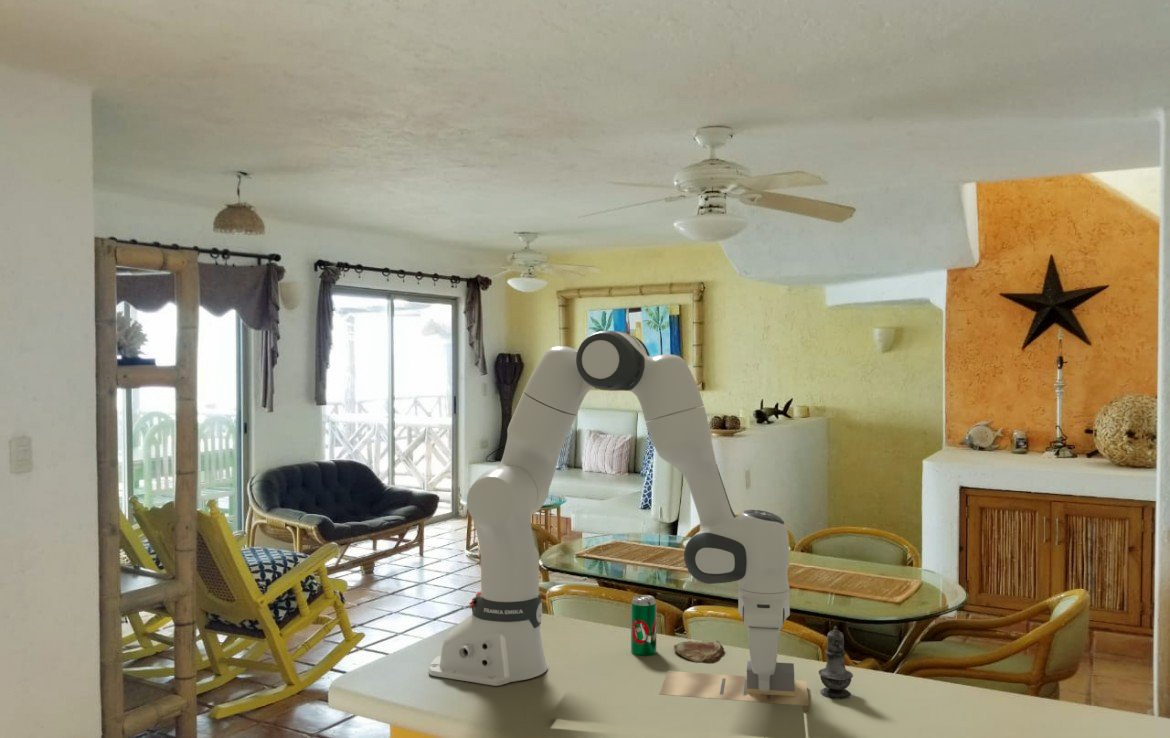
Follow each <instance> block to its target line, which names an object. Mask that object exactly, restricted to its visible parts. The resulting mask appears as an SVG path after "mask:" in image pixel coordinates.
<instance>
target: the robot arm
mask: <svg viewBox="0 0 1170 738" xmlns="http://www.w3.org/2000/svg"><path fill="white" fill-rule="evenodd" d="M592 389H597V390H602V391H609V392H618V391H619V392H620V391H629V392H632V393H633V394H634V395H635V396H636V397H637V400H638V401H639V404H640V407H641V410H642V414H643V418H644V421H645V425H646V429H647V432H648V435H649V438H650V440H651V442H652V444H653V447H654V449H655V451H656V452H657V455H658V456H659V457H660V458H661V459H662V460H663V461H665V462H666V463H668V464H670V465H672V466H673V467H674V468H675V469H677V470H678V471H679V473H680V474H681V475H682V476H683V477H684V479H685V480H686V482H687V485H688V487H689V491H690V494H691V497H692V500H693V502H694V505H695V509H696V512H697V514H698V518H699V531H698V532H696V533H695V534H694V535H693V536H691V538H690V539H689V540H688V541H687V543H686V545H685V547H684V550H683V551H684V552H683V561H684V565H685V567H686V569H687V570H688V571H687V572H688V573H689V574H690V575H691V577H693V578H694V579H696V580H697V581H699V582H701V583H705V584H710V585H715V584H725V583H732V582H737V584H738V585H737V586H738V588H737V590H738V591H737V592H738V595H737V596H738V597H737V598H738V601H737V602H738V606H737V607H738V609H737V611H738V612H737V613H738V614H739V615H740V616H741V618H742V620H743V625H744V626H745V627H746V629H747V631H746V632H747V637H748V648H749V657H750V661H751V665H752V670H753V673H755V674H758V679H759V690H760V691H769V684H770V675H773V674H774V672H775V668H776V662H777V659H778V649H779V639H780V632H781V629H782V628H783V627H784V623H785V621H786V619H787V618H788V617H789V616H790V614H791V612H790V611H791V609H790V608H791V605H790V596H791V595H790V588H791V587H790V583H789V580H788V571H789V567H790V545H789V533H788V529H787V526H786V523H785V521H784V520H783V519H782V518H781V517H780V516H779V515H777V514H775V513H772V512H769V511H766V510H760V509H746V510H744V511H742V512H741V513H740V514H739V515H737V516H736V514H735V513H734V510H733V509H732V506H731V504H730V500H729V498H728V494H727V492H726V488H725V485H724V482H723V480H722V476H721V473H720V470H719V467H718V464H717V460H716V457H715V455H716V454H715V451H714V446H713V442H712V436H711V435H712V434H711V429H710V424H709V420H708V416H707V415H708V414H707V411H706V408H705V404H704V402H703V398H702V395H701V393H700V390H699V387H698V385H697V382H696V380H695V377H694V375H693V373H692V371H691V369H690V367H689V366H688V364H687V362H686V360H684V359H683V358H682V357H681V356H680V355H676V354H669V353H664V354H659V355H654V356H650V353H649V350H648V347H647V346H646V345H645V344H644V342H643V341H642V340H641V339H639V338H638V337H636V336H635V335H632V334H629V333H626V332H624V331H619V330H600V331H597V332H596V331H595V332H594V333H592V334H590V335H588V336H587V337H586V338H584V340H583V341H582V342H581V343H580V345H579V347H578V349H575V348H573V347H570V346H566V345H565V346H564V345H563V346H562V345H558V346H553V347H551V348H549V349H548V350H547V351H546V352H544V354H543V356H542V357H541V358H540V360H539V362H538V363H537V364H536V366H535V368H534V370H533V372H532V373H531V375H530V377H529V378H528V381H527V382H526V385H525V387H524V389H523V392H522V394H521V397H520V399H519V401H518V403H517V406H516V408H515V410H514V412H513V415H512V417H511V419H510V422H509V423H508V426H507V431H506V433H507V437H506V442H505V447H504V451H503V455H502V458H501V461H500V463H499V464H498V466H497V467H496V468H493V469H490V470H488V471H486V472H484V473H482V474H481V475H479V477H478V478H477V479H476V480H475V481H474V482H473V484H472V485H470V486H471V487H470V488H469V490H468V492H467V497H466V507H467V511H468V513H469V515H470V517H471V518H472V520H473V521H474V527H475V530H476V536H477V541H478V545H479V553H480V571H481V572H480V573H481V574H480V578H481V579H480V582H481V583H480V588H481V590H480V591H478V592H477V593H476V594H475V597H473V598H472V599H471V601H470V602H468V603H469V607H468V609H470V610H471V612H472V613H471V614H470V615H469V616H467V617H466V618H465V619H464V620H463V621H461V622H460V623H459V624H457V625H456V626H455V627H454V628H453V629H452V630H450V631H449V632H448V634H446V636H445V637H444V639H443V643H442V647H441V653H440V654H439V655H438V656H436V657H435V658H434V659H432V661H431V662H430V663H429V665H428V666H429V667H428V674H429V675H430V676H433V677H439V678H443V679H450V680H457V681H461V682H462V681H465V682H469V683H470V682H471V683H477V684H482V685H488V686H492V687H493V686H495V687H497V686H502V685H503V686H504V685H505V684H509V683H512V682H520V681H524V680H525V681H526V680H529V679H533V678H535V677H538V676H541V675H543V674H544V673H545V672H546V671H547V670H548V669H549V668H548V662H547V660H546V656H545V652H544V648H543V646H544V645H543V639H542V631H541V624H542V618H543V604H542V594H541V593H540V564H539V563H540V555H539V551H538V549H537V547H536V544H535V541H534V535H533V529H532V516H533V515H535V514H536V513H537V512H539V511H540V510H541V508H542V507H543V506H544V504H545V502H546V500H547V497H548V496H549V491H550V487H551V484H552V481H553V480H554V476H555V473H556V468H557V465H558V460H559V459H560V458H559V457H560V454H561V451H562V450H563V449H562V448H563V446H564V444H565V442H566V439H567V438H568V435H569V433H570V430H571V428H572V425H573V423H574V421H575V419H576V416H577V414H578V411H579V410H580V408H581V405H582V403H583V401H584V399H585V397H586V395H587V394H588V392H590V391H591V390H592Z"/></svg>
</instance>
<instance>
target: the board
mask: <svg viewBox="0 0 1170 738" xmlns="http://www.w3.org/2000/svg"><path fill="white" fill-rule="evenodd" d="M662 683H663V684H662V686H661V688H660V691H659V695H663V696H664V695H665V696H678V697H689V698H690V697H691V698H701V699H713V700H728V701H729V700H730V701H741V702H742V701H743V702H753V703H754V702H756V703H766V704H778V705H779V704H781V705H792V706H802V712H803V713H804V714H805V713H808V714H809V711H810V708H809V706H810V704H809V695H808V685H807V684H808V683H807V680H801V679H800V680H799V679H794V685H795V696H781V695H766V694H751V693H747V675H743V676H742V675H732V674H731V675H730V674H717V673H705V672H704V673H703V672H690V671H689V672H688V671H676V670H667V671H666V675H665V677H664V680H663V682H662Z"/></svg>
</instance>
